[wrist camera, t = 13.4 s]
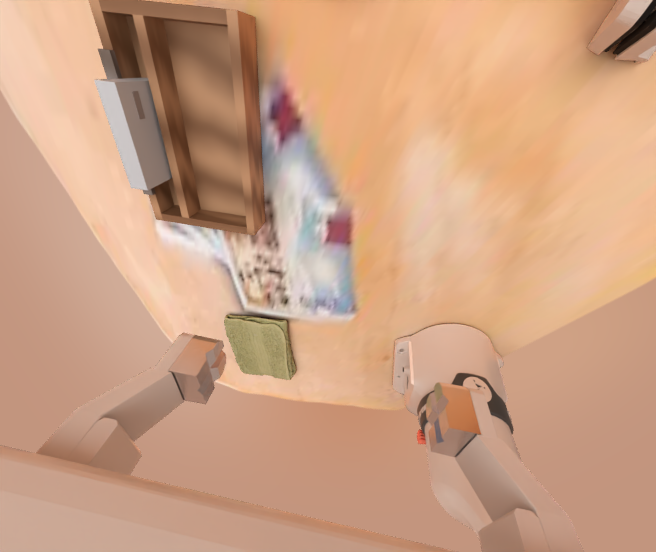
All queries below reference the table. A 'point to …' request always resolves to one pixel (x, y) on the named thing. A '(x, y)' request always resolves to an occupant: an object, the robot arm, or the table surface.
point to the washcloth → (261, 346)
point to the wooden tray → (195, 105)
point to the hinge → (628, 31)
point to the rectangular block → (135, 130)
